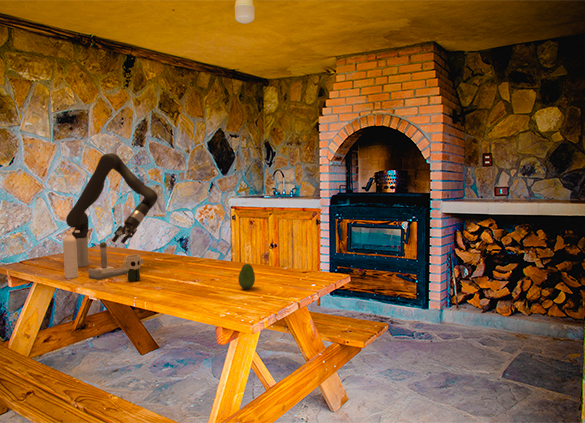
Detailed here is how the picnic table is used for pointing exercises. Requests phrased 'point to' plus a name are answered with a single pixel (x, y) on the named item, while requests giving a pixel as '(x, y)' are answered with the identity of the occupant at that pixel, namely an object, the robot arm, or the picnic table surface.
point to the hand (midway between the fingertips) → (117, 242)
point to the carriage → (104, 260)
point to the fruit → (246, 277)
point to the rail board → (97, 276)
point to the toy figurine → (133, 266)
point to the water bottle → (70, 256)
